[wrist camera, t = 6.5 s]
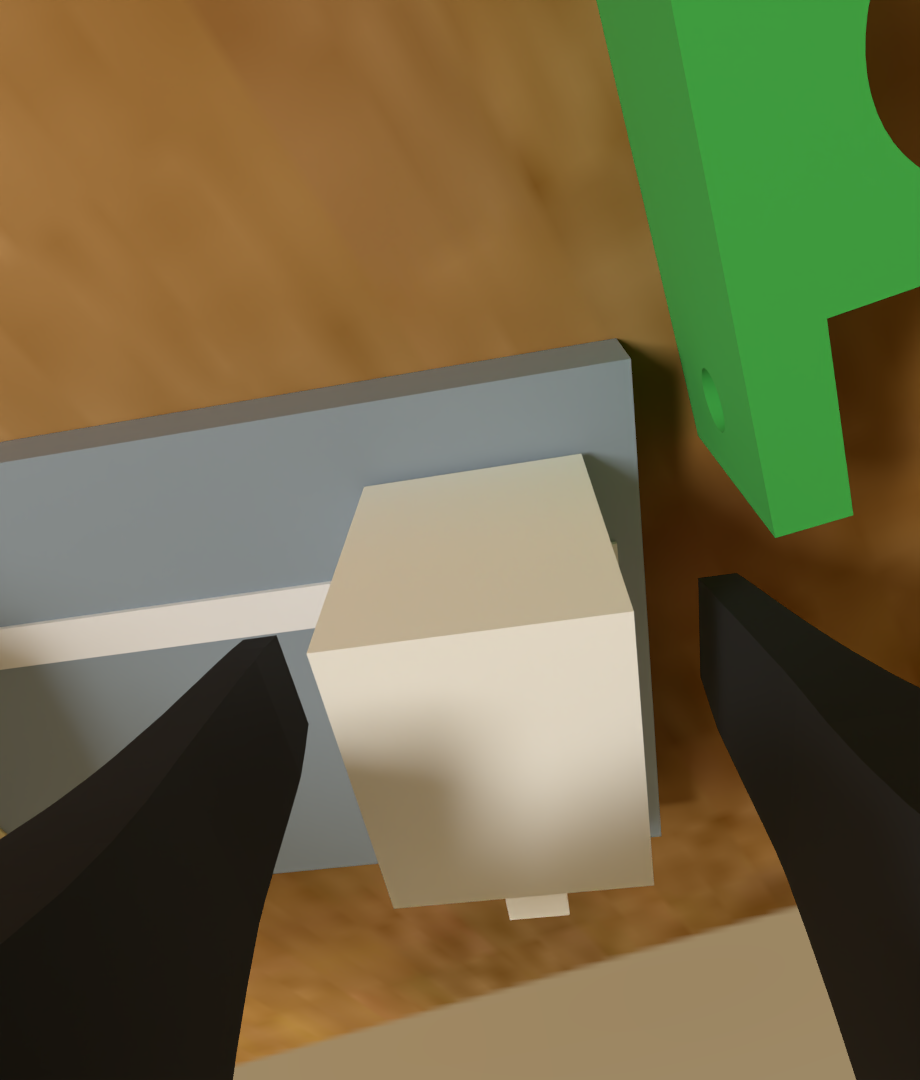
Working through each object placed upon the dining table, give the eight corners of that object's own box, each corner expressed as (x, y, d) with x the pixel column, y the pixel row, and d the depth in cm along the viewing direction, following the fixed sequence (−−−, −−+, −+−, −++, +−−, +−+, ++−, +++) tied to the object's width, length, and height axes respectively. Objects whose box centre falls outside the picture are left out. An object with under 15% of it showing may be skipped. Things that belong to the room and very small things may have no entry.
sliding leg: (450, 818, 17) (440, 1044, 13) (364, 486, 13) (306, 653, 9) (617, 801, 17) (664, 1028, 13) (580, 453, 13) (634, 611, 8)
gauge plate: (-38, 860, 21) (-237, 1132, 15) (-312, 494, 16) (-791, 703, 10) (648, 788, 19) (723, 1072, 13) (616, 338, 14) (720, 483, 8)
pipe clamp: (887, 368, 14) (1050, 461, 10) (694, 431, 15) (774, 542, 11) (808, -467, 9) (1072, -955, 5) (521, -308, 10) (549, -622, 6)
